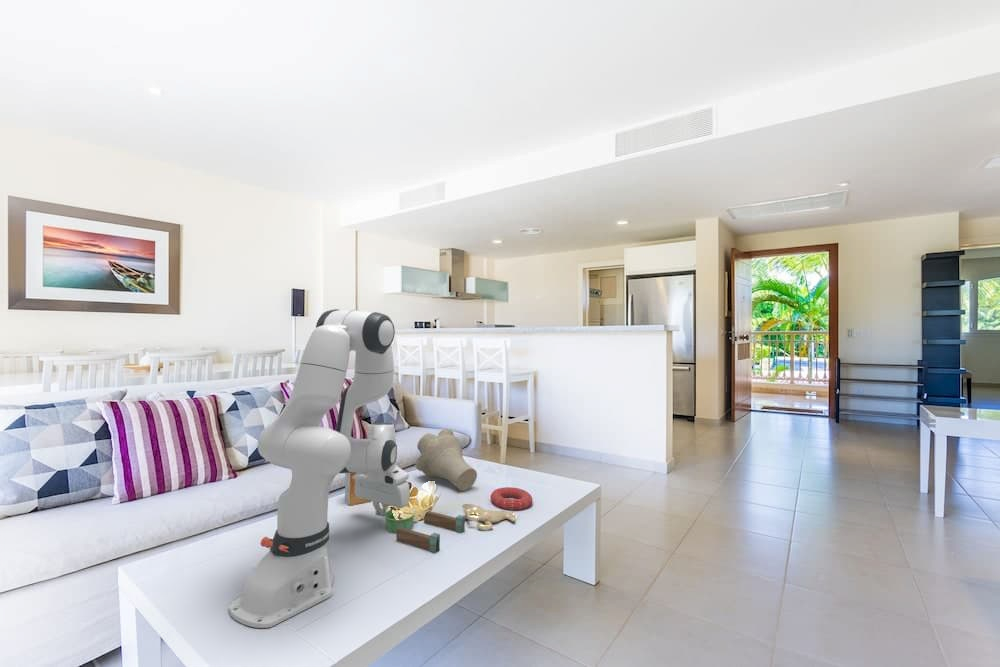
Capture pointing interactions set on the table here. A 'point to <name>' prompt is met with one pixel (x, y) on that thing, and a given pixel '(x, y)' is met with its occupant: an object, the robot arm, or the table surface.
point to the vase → (445, 459)
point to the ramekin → (397, 522)
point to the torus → (511, 504)
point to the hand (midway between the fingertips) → (380, 515)
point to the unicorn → (486, 515)
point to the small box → (352, 490)
